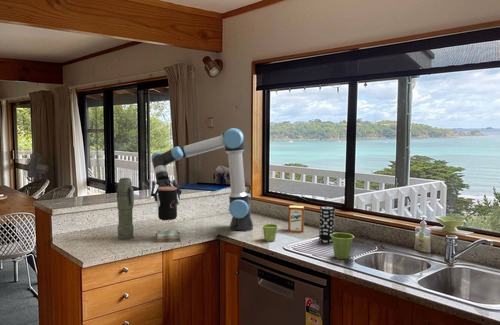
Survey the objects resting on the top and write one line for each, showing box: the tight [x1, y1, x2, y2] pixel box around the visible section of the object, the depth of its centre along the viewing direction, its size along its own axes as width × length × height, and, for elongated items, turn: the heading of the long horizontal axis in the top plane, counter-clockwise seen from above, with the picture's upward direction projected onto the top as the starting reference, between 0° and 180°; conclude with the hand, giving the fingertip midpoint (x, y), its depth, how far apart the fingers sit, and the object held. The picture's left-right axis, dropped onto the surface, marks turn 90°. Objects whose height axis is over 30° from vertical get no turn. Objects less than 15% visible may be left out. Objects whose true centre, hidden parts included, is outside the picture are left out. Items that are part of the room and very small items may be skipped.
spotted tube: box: [318, 206, 336, 245], centre depth 235 cm, size 8×8×20 cm
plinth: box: [154, 229, 181, 244], centre depth 239 cm, size 14×14×4 cm
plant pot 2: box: [330, 232, 355, 260], centre depth 208 cm, size 12×12×11 cm
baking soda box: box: [287, 205, 305, 233], centre depth 260 cm, size 10×6×16 cm
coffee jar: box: [157, 186, 178, 221], centre depth 237 cm, size 11×11×18 cm
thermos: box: [116, 177, 135, 241], centre depth 239 cm, size 9×12×35 cm
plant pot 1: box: [261, 223, 279, 242], centre depth 239 cm, size 9×9×9 cm
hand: (168, 204), depth 235 cm, fingers closed on coffee jar, 11 cm apart
